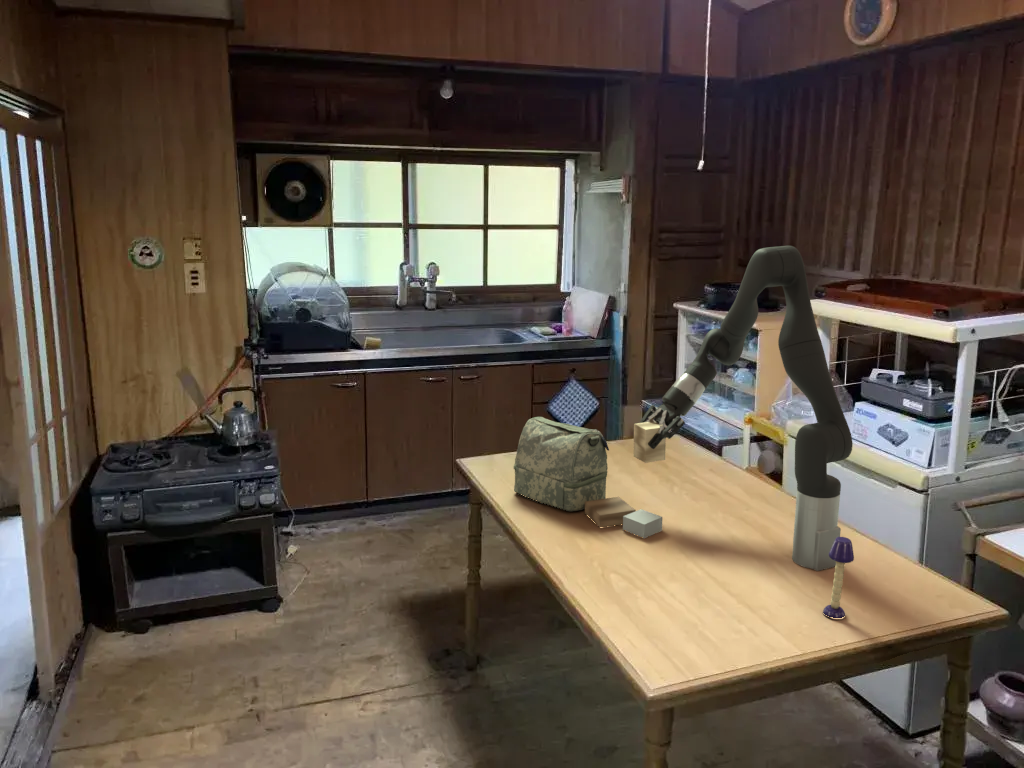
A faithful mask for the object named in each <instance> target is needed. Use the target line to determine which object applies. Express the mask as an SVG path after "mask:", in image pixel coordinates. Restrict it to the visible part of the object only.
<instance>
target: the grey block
mask: <svg viewBox="0 0 1024 768" xmlns="http://www.w3.org/2000/svg"><path fill="white" fill-rule="evenodd" d="M624 530H626V531H625V532H627V531H628V533H629V532H630V534H632V533H633V534H632V535H634V534H635V535H634V536H636V535H638V536H637V537H639V536H640V537H639V538H641V537H643V538H642V539H646V538H648V536H649V537H651V536H653V535H655V533H656V534H658V533H660V532H662V531H663V516H661V515H659V514H655V513H653V512H650V511H648V510H645V509H641V508H640V509H637V510H636V511H635V512H633V513H630V514H628V515H625V516H623V525H622V531H624Z"/></svg>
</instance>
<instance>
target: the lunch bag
mask: <svg viewBox="0 0 1024 768" xmlns="http://www.w3.org/2000/svg"><path fill="white" fill-rule="evenodd" d="M520 433H521V434H520V437H519V440H518V446H517V450H516V454H515V455H516V456H515V458H514V464H513V470H514V487H513V490H514V493H515V492H517V493H519V494H522V495H524V496H526V497H529V498H532V499H534V500H537V501H538V502H541V503H540V504H543V503H544V504H543V505H546V504H547V505H546V506H549V505H551V506H550V507H553V506H554V507H553V508H556V507H557V509H559V508H560V510H562V509H563V510H562V511H565V510H566V512H576V511H583V510H585V501H592V500H599V499H606V492H607V491H606V490H607V477H608V454H607V451H610V449H609V446H608V442H607V440H606V439H605V438H604V437H605V436H603V434H602V432H601V431H600V430H598V429H596V428H595V429H591V428H586V427H581V426H578V425H573V424H570V423H562V422H557V421H554V420H550V419H548V418H545V417H543V416H535V417H532V418H529V419H528V420H527V421H526V423H525V425H524V426H523V428H522V431H521V432H520ZM517 493H516V494H517ZM519 494H518V495H519ZM526 497H525V498H526ZM534 500H533V501H534ZM538 502H537V503H538Z"/></svg>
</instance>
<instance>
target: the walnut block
mask: <svg viewBox="0 0 1024 768" xmlns="http://www.w3.org/2000/svg"><path fill="white" fill-rule="evenodd" d="M635 511H637V510H636V509H635V508H634V507H632V505H630V504H629V503H628V502H626V501H625V500H623V499H622V497H620V496H615V497H614V496H613V497H608V498H606V499H599V500H592V501H585V509H584V515H585V514H586V515H588V516H589V517H590V518H591V519H592V520H593V521H594V522H595V523H596V524H597V525H598V526H599V527H607V526H614V525H620V526H622V525H621V524H623V516H625V515H628V514H630V513H633V512H635ZM586 515H585V516H586ZM593 521H592V522H593ZM594 522H593V523H594ZM595 523H594V524H595ZM596 524H595V525H596ZM597 525H596V526H597ZM598 526H597V527H598ZM599 527H598V528H599ZM614 527H615V526H614ZM607 528H608V527H607Z"/></svg>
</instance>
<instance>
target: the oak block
mask: <svg viewBox="0 0 1024 768" xmlns="http://www.w3.org/2000/svg"><path fill="white" fill-rule="evenodd" d="M659 428H660V426H659V423H657V422H656V421H655V422H643V423H641V422H638V423H634V424H633V457H634V458H636V459H637V460H638V461H641V462H642V463H644V464H648V463H654V462H655V463H656V462H660V461H665V460H666V448H667V447H666V445H667V443H666V442H667V439H666V438H665V439H662V441H661V442H660V443H659V444H658V445H657V447H655V449H652V448H651V447H650V446H649V445H648V443H649V441H650V440H651V439H652V438H653V436H654V435H655V434H656V433H657V432H658V430H659ZM664 430H665V429H663V431H664ZM657 434H658V433H657Z"/></svg>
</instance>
